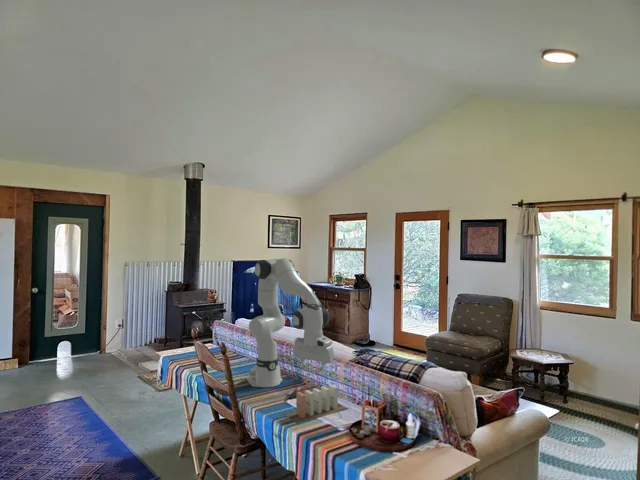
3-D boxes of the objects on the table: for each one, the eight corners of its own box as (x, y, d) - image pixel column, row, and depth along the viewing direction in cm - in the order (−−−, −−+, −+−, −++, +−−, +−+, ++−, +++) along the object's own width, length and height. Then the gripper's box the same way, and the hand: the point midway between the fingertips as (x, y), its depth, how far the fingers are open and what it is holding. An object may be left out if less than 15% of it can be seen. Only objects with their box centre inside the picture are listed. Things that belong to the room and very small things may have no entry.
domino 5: (334, 409, 201) (334, 388, 201) (328, 405, 205) (328, 385, 205) (337, 408, 202) (337, 387, 202) (331, 404, 206) (331, 384, 206)
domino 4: (326, 411, 198) (326, 390, 198) (320, 407, 203) (320, 386, 203) (329, 410, 200) (329, 389, 199) (323, 407, 204) (323, 386, 204)
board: (283, 416, 195) (283, 414, 195) (333, 402, 211) (333, 400, 211) (297, 425, 185) (297, 423, 185) (348, 410, 201) (348, 408, 201)
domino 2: (310, 415, 193) (310, 393, 193) (304, 412, 197) (304, 390, 197) (313, 414, 194) (313, 393, 194) (307, 411, 199) (307, 389, 198)
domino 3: (318, 413, 196) (318, 391, 196) (312, 410, 200) (312, 388, 200) (321, 412, 197) (321, 391, 197) (315, 409, 201) (315, 388, 201)
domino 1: (302, 418, 191) (302, 396, 191) (296, 414, 195) (296, 392, 195) (305, 417, 192) (305, 395, 192) (299, 413, 196) (299, 391, 196)
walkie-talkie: (294, 390, 230) (282, 403, 211) (294, 381, 230) (282, 395, 211) (310, 391, 228) (299, 405, 209) (310, 383, 228) (299, 396, 209)
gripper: (291, 338, 200) (291, 367, 200) (328, 344, 189) (328, 375, 189) (298, 335, 205) (298, 364, 205) (335, 341, 194) (335, 371, 194)
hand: (313, 369), depth 197 cm, fingers open, 8 cm apart
